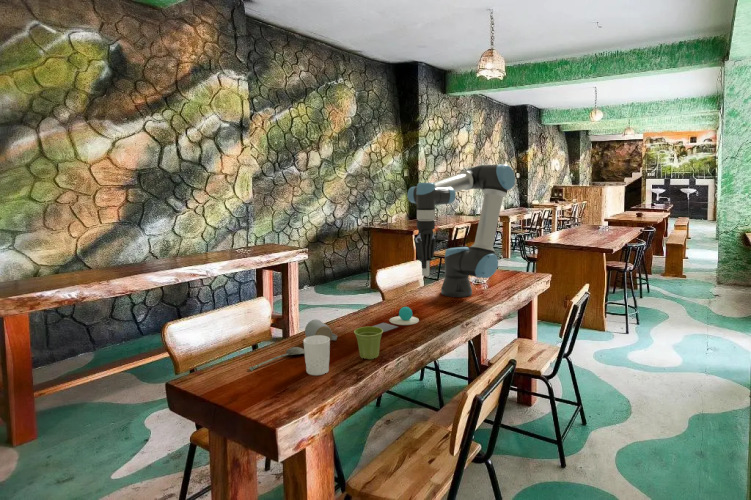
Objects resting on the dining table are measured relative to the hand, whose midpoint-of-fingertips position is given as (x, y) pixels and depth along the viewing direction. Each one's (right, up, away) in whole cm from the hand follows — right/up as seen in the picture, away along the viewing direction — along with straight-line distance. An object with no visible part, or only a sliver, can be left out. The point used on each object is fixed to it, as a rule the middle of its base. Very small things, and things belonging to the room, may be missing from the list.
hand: (425, 275), depth 201 cm
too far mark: (-18, -19, -16) cm, 31 cm away
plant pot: (-23, -24, -45) cm, 56 cm away
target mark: (-10, -18, -7) cm, 22 cm away
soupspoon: (-52, -25, -47) cm, 75 cm away
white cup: (-39, -26, -56) cm, 73 cm away
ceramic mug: (-40, -22, -30) cm, 55 cm away
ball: (-9, -15, -7) cm, 19 cm away
